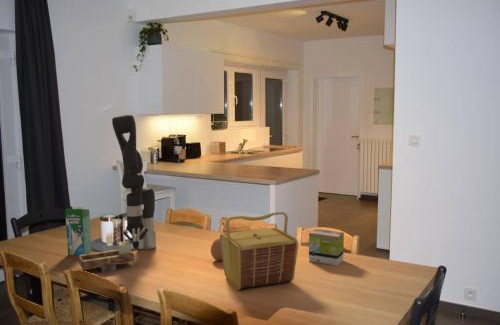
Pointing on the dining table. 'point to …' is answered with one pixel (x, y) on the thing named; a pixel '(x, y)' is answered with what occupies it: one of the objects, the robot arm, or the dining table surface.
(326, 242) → the tea box
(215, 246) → the egg
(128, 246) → the block
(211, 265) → the dining table surface
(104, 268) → the beam
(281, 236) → the picnic basket
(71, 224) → the milk carton
